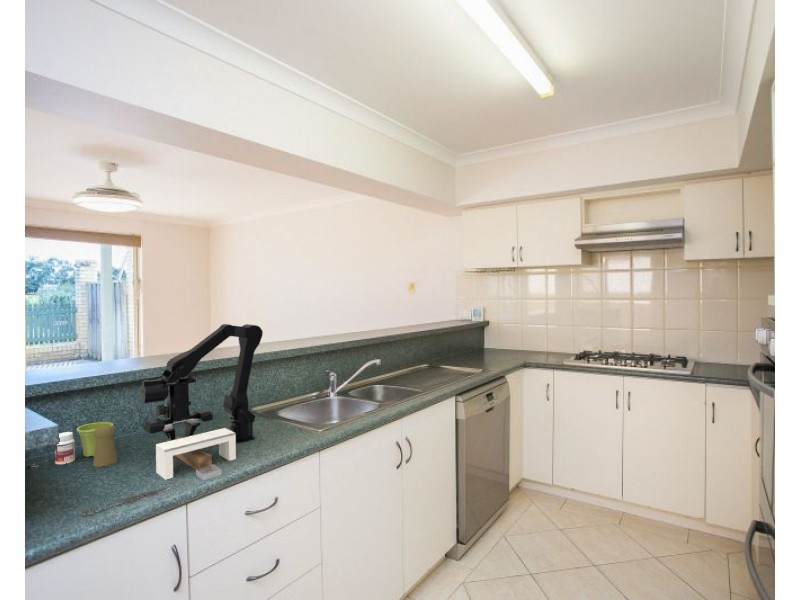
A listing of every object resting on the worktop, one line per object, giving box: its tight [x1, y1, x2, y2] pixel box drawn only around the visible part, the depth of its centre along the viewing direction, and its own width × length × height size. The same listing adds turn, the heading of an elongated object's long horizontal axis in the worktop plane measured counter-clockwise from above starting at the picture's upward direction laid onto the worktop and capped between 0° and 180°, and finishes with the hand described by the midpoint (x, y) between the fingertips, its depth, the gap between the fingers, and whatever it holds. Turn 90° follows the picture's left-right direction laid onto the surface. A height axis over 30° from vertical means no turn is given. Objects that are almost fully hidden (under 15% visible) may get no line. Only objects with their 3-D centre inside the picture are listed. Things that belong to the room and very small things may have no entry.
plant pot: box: [76, 421, 114, 458], centre depth 139 cm, size 9×9×9 cm
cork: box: [92, 425, 118, 468], centre depth 132 cm, size 6×6×11 cm
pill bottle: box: [54, 431, 76, 465], centre depth 133 cm, size 5×5×8 cm
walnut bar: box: [166, 436, 213, 471], centre depth 134 cm, size 4×24×4 cm, turn 47°
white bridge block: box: [155, 427, 237, 481], centre depth 130 cm, size 20×7×8 cm, turn 137°
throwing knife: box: [81, 486, 173, 517], centre depth 109 cm, size 4×20×1 cm, turn 138°
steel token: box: [195, 463, 223, 481], centre depth 123 cm, size 5×5×2 cm
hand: (180, 447), depth 139 cm, fingers closed on walnut bar, 3 cm apart
